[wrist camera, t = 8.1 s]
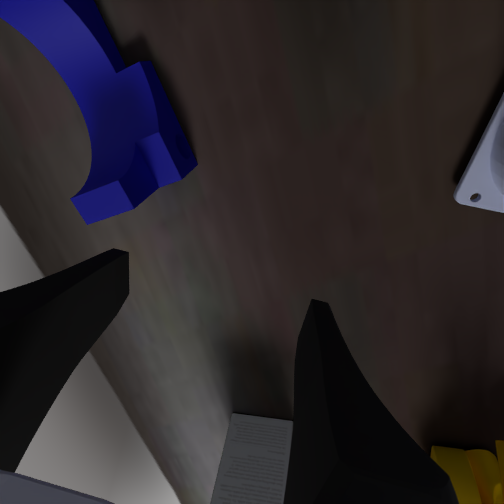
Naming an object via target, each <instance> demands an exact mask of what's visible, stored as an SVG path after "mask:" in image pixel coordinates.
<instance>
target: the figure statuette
mask: <svg viewBox="0 0 504 504" xmlns="http://www.w3.org/2000/svg"><path fill="white" fill-rule="evenodd" d="M495 444H496V450H497V456H498V461H497V459H496V456H495V455H494V454H492V453H491V452H490V451H487V450H482V449H474V450H467V451H464V450H463V449H457V448H449V447H442V446H434V445H433V446H432V449H431V455H430V457H431V458H432V459H433V460H434V461H435V462H436V463H437V464H438V465H439V466H440V467H441V468H442V469H443V470H444V471H445V472H446V473H447V474H448V475H449V477H450V479H451V482H452V485H453V487H454V490H455V492H456V495H457V498H458V502H459V504H504V441H503V440H495Z"/></svg>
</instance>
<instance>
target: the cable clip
mask: <svg viewBox="0 0 504 504" xmlns="http://www.w3.org/2000/svg"><path fill="white" fill-rule="evenodd" d="M0 18H2V19H3V20H5V21H6V22H7V23H9V24H10V25H11V26H13V27H14V28H15V29H17V30H18V31H19V32H20V33H21V34H23V35H24V36H25V37H26V38H27V39H28V40H29V41H30V42H31V43H33V44H34V45H35V46H36V47H37V48H38V49H39V50H40V52H41V53H42V54H43V55H44V56H45V57H46V58H47V59H48V60H49V62H50V63H51V64H52V65H53V66H54V68H55V69H56V70H57V71H58V73H59V74H60V75H61V77H62V78H63V80H64V81H65V83H66V84H67V86H68V87H69V89H70V90H71V92H72V94H73V96H74V97H75V99H76V101H77V103H78V105H79V107H80V109H81V112H82V114H83V116H84V119H85V122H86V125H87V128H88V132H89V136H90V141H91V149H92V162H91V169H90V173H89V176H88V179H87V181H86V183H85V185H84V186H83V187H82V189H81V190H80V191H79V192H78V193H77V194H76V195H75V196H73V197H72V198H70V199H71V201H72V202H73V204H74V205H75V207H76V208H77V210H78V211H79V213H80V215H81V216H82V218H83V219H84V221H85V222H86V224H87V225H88V224H91V223H94V222H97V221H100V220H103V219H106V218H109V217H112V216H115V215H118V214H120V213H123V212H126V211H129V210H132V209H135V208H136V207H137V206H138V205H139V204H140V203H142V202H143V201H144V200H145V199H146V198H147V197H149V196H150V195H151V194H152V193H153V192H155V191H156V190H157V189H158V188H160V187H162V186H165V185H168V184H171V183H173V182H176V181H179V180H182V179H183V178H184V177H185V176H186V175H187V174H188V173H189V172H190V171H192V170H193V169H194V168H195V167H196V166H197V165H198V164H197V161H196V159H195V157H194V155H193V153H192V150H191V148H190V146H189V144H188V142H187V139H186V137H185V135H184V133H183V131H182V129H181V126H180V124H179V122H178V120H177V118H176V115H175V113H174V111H173V109H172V107H171V104H170V102H169V100H168V98H167V96H166V93H165V91H164V89H163V87H162V85H161V82H160V80H159V78H158V76H157V74H156V72H155V69H154V67H153V65H152V63H151V61H139V62H137V63H135V64H133V65H132V66H130V67H128V68H126V66H125V64H124V62H123V60H122V58H121V56H120V54H119V51H118V49H117V47H116V45H115V43H114V41H113V39H112V37H111V35H110V33H109V31H108V29H107V27H106V25H105V23H104V21H103V19H102V17H101V15H100V12H99V10H98V8H97V6H96V4H95V2H94V0H0Z"/></svg>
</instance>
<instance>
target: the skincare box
mask: <svg viewBox="0 0 504 504" xmlns="http://www.w3.org/2000/svg"><path fill="white" fill-rule="evenodd" d="M292 431H293V421H289V420H281V419H274V418H266V417H259V416H251V415H244V414H236V413H232V415H231V419H230V423H229V427H228V431H227V436H226V440H225V444H224V448H223V453H222V457H221V461H220V465H219V469H218V473H217V477H216V482H215V486H214V490H213V494H212V498H211V503H210V504H283V502H284V494H285V487H286V480H287V472H288V464H289V457H290V448H291V440H292Z"/></svg>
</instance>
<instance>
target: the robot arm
mask: <svg viewBox="0 0 504 504" xmlns="http://www.w3.org/2000/svg"><path fill="white" fill-rule="evenodd" d="M475 193H478V197H477V198H476V199H473V200H470V197H471V196H472V194H475ZM454 198H455V200H456V201H457V202H458V203H460V204H464V205H468V206H473V207H478V208H483V209H487V210H492V211H497V212H502V213H504V93H503V95H502V97H501V99H500V101H499V103H498V105H497V107H496V109H495V111H494V113H493V115H492V117H491V119H490V121H489V123H488V125H487V127H486V129H485V131H484V133H483V135H482V137H481V139H480V141H479V143H478V145H477V147H476V149H475V151H474V153H473V155H472V157H471V159H470V161H469V163H468V165H467V167H466V169H465V171H464V173H463V175H462V177H461V179H460V181H459V183H458V185H457V187H456V189H455V191H454ZM128 295H129V252H126V251H122V250H118V249H114V248H113V249H111V250H108V251H106V252H103V253H101V254H99V255H97V256H94V257H92V258H90V259H88V260H85V261H83V262H81V263H79V264H76V265H74V266H72V267H69V268H67V269H65V270H62V271H60V272H57V273H55V274H52V275H50V276H47V277H45V278H42V279H40V280H37V281H34V282H31V283H28V284H26V285H22V286H19V287H16V288H13V289H10V290H7V291H3V292H0V504H114V503H112V502H109V501H107V500H104V499H101V498H98V497H94V496H91V495H88V494H84V493H81V492H78V491H74V490H71V489H68V488H64V487H61V486H57V485H54V484H51V483H48V482H44V481H41V480H37V479H34V478H31V477H28V476H24V475H21V474H18V473H14V472H15V471H16V469H17V467H18V465H19V463H20V461H21V459H22V457H23V455H24V454H25V451H26V450H27V448H28V446H29V444H30V442H31V441H32V438H33V437H34V435H35V433H36V432H37V430H38V428H39V426H40V425H41V423H42V421H43V419H44V418H45V416H46V414H47V412H48V411H49V409H50V408H51V406H52V404H53V403H54V401H55V399H56V397H57V396H58V394H59V393H60V391H61V389H62V388H63V386H64V384H65V383H66V382H67V380H68V378H69V377H70V375H71V373H72V372H73V370H74V369H75V368H76V366H77V365H78V363H79V362H80V361H81V359H82V358H83V357H84V356H85V354H86V353H87V352H88V351H89V349H90V348H91V347H92V346H93V344H94V343H95V342H96V340H97V339H98V338H99V337H100V335H101V334H102V333H103V332H104V330H105V329H106V328H107V327H108V325H109V324H110V323H111V321H112V320H113V319H114V318H115V316H116V315H117V313H118V312H119V310H120V309H121V307H122V305H123V303H124V302H125V300H126V298H127V296H128ZM283 504H459V502H458V498H457V495H456V492H455V490H454V487H453V485H452V482H451V479H450V477H449V475H448V474H447V473H446V472H445V471H444V470H443V469H442V468H441V467H440V466H439V465H438V464H437V463H436V462H435V461H434V460H433V459H432V458H431V457H430V456H429V455H428V454H427V453H426V452H425V451H424V450H423V449H421V447H420V446H419V445H418V444H417V443H416V442H415V441H414V440H413V439H412V438H411V437H410V436H409V434H408V433H407V432H406V431H405V430H404V429H403V428H402V427H401V425H400V424H399V423H398V422H397V421H396V420H395V418H394V417H393V416H392V415H391V413H390V412H389V411H388V410H387V408H386V407H385V406H384V405H383V403H382V402H381V401H380V399H379V398H378V397H377V395H376V394H375V393H374V391H373V390H372V388H371V387H370V385H369V384H368V382H367V381H366V379H365V378H364V376H363V374H362V373H361V371H360V369H359V368H358V366H357V364H356V362H355V360H354V359H353V357H352V355H351V353H350V351H349V349H348V347H347V345H346V343H345V341H344V339H343V337H342V335H341V332H340V330H339V328H338V326H337V323H336V321H335V318H334V316H333V313H332V311H331V308H330V306H329V304H328V303H326V302H323V301H319V300H315V299H312V300H311V302H310V305H309V308H308V311H307V314H306V317H305V320H304V322H303V325H302V328H301V331H300V334H299V337H298V342H297V349H296V356H295V370H294V417H293V431H292V440H291V448H290V457H289V464H288V472H287V480H286V487H285V494H284V502H283Z"/></svg>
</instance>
